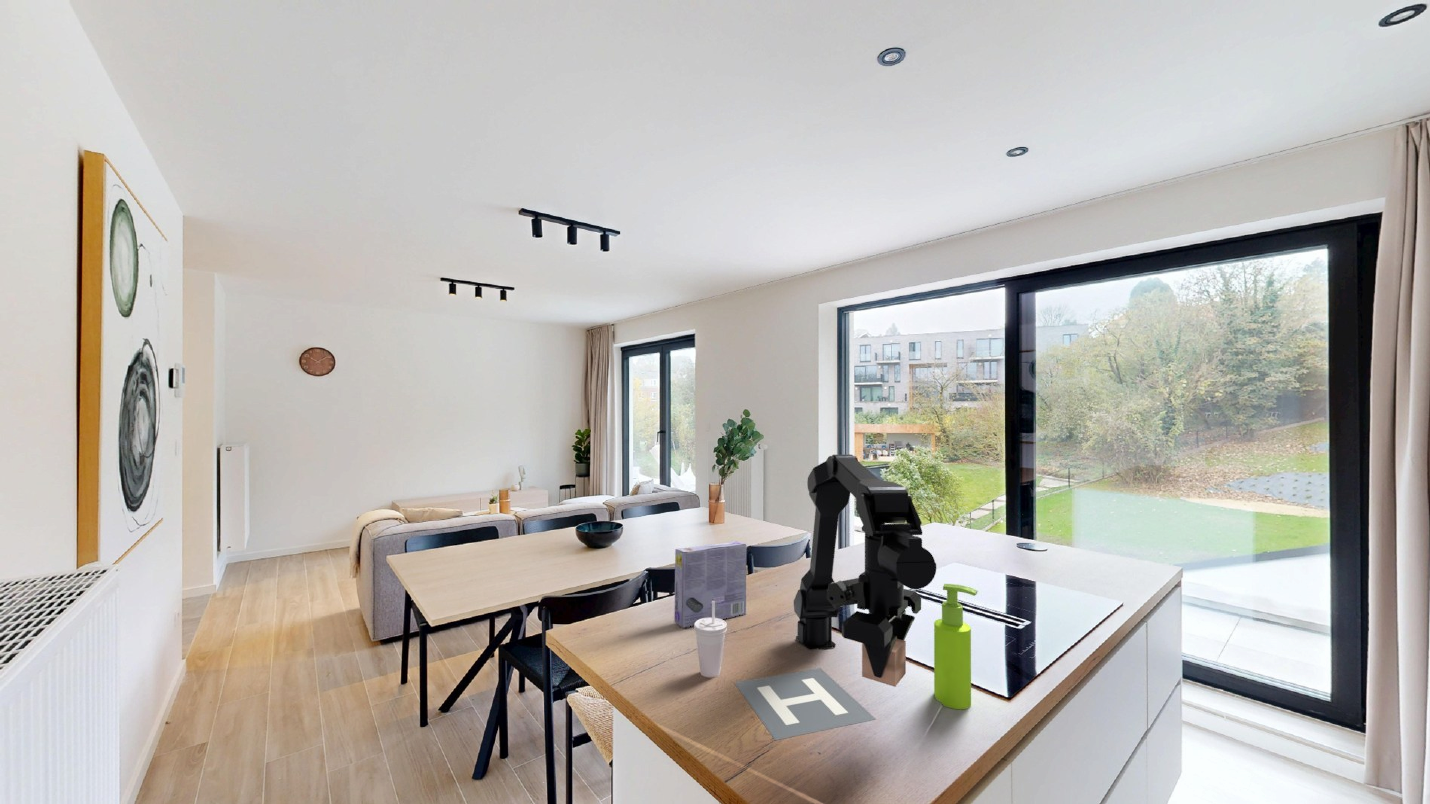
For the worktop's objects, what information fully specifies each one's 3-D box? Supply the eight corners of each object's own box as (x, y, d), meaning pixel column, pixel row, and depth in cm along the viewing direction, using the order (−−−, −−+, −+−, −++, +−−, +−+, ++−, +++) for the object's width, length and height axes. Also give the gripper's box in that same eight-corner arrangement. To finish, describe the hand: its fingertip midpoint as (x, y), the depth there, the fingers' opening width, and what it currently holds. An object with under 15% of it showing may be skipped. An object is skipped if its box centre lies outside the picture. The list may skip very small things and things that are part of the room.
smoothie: (723, 684, 98) (723, 608, 98) (689, 681, 99) (690, 605, 99) (729, 668, 104) (729, 596, 104) (697, 664, 106) (698, 594, 106)
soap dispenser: (975, 715, 88) (975, 594, 89) (931, 702, 92) (931, 587, 92) (979, 699, 93) (979, 584, 94) (937, 687, 97) (937, 578, 97)
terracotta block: (873, 664, 85) (873, 632, 85) (905, 673, 82) (905, 640, 82) (862, 676, 81) (862, 643, 81) (895, 686, 78) (895, 652, 78)
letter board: (820, 670, 104) (820, 668, 104) (876, 721, 86) (876, 719, 87) (734, 684, 98) (734, 682, 98) (775, 742, 81) (775, 740, 81)
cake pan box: (739, 607, 136) (740, 538, 137) (751, 614, 132) (751, 542, 132) (672, 622, 126) (673, 548, 127) (682, 630, 122) (682, 553, 122)
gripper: (856, 547, 94) (856, 635, 94) (808, 572, 79) (808, 678, 79) (922, 557, 87) (922, 653, 87) (882, 587, 72) (883, 703, 72)
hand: (884, 669), depth 81 cm, fingers closed on terracotta block, 5 cm apart
